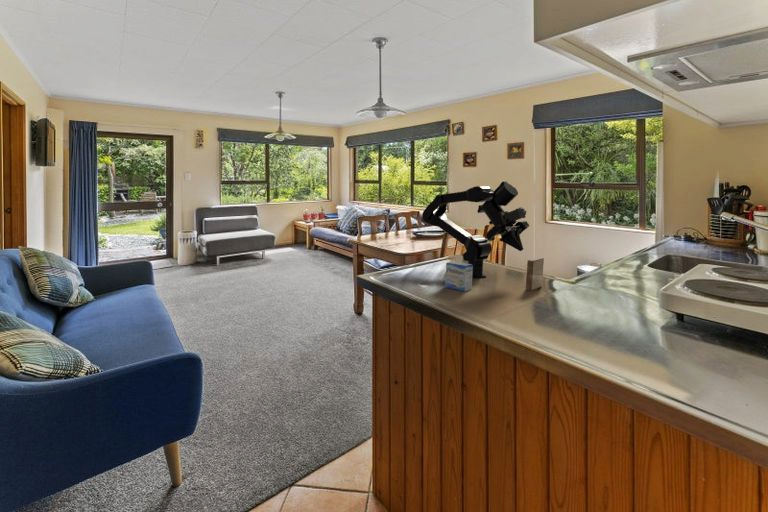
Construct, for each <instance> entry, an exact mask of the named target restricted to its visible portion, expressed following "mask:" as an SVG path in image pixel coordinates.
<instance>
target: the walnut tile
mask: <svg viewBox="0 0 768 512" xmlns="http://www.w3.org/2000/svg"><path fill="white" fill-rule="evenodd" d="M544 260H545V258H544V257H539V256H538V257H534V258H530V259H527V263H526V279H525V280H526V282H525V290H526V291H530V290H532V291H534V289H535V290H537V288H538V289H541V288H542V286H543V274H544ZM540 287H541V288H540Z"/></svg>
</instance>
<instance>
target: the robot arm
mask: <svg viewBox="0 0 768 512" xmlns="http://www.w3.org/2000/svg"><path fill="white" fill-rule="evenodd" d="M518 195H519V192H518V190H517V188H516V187H514V186H513V185H512V184H510V183H508V182H507V180H506V181H505V180H504V181H502V182H500V184H499V185H498V186H497V187H496V188H495V190H494V189H492V188H491V187H490V186H489V185H480V186H479V185H478V186H477V185H475V186H472V187H470V188H467V189H466V190H463V191H458V192H456V191H455V192H451V193H450V192H449V193H439V194H436V196H435V197H434V199H433V200H432V201H431V202H430V203H429V204H427V206H426V207H425V209H423V212H422V214H421V216H422V221H423V222H424V223H425V224H427V225H430V226H434V227H436V228H437V227H438V228H439V229H441V230H442V231H444V232H445V233H446V234H447V235H449V236H451V237H452V238H454V239H455V240H456V241H457V242H459V243H461V244H462V245H463V247H464V248H465V252H464V253H463V254H462V258H463V261H465V262H467V264H472V265H473V270H472V279H473V278H474V279H475V278H486V277H487V275H485V274H484V260H487V259H488V258H489V256H490V254H491V253H492V251H493V250H492V248H493V247H492V243H491V242H493V241H495V237H496V236H498V235H500V237H501V238H500V239H499V242H503V243H504V244H506V245H508V246H510V247H512V248H514V249H516V250H517V251H520V252H522V251H523V250H524V246H523V243H522V239H521V236H520V235H521V234H523V232H525V231H526V230H527V229H528V228H529V227H530V224H529V222H528V221H526V220H521V219H525V218H526V214H527V210H525V208H524V207H522V206H521V207H518V208H515V209H513V210H511V211H505V210H504V209H503V208H502V206H504V207H506V206H508V205H509V204H510V203H511V202H512V201H513V200H514V199H515V198H516V197H518ZM461 202H471V203H483V204H481V205H478V209H477V213H478V214H482V213H484V214H485V215H486V217H487V218H488V220H489V222H488V224H489V225H491V226H492V225H493V226H492V227H491V228H490V229H489V230H488V231H487V232H486V233H485V236H484V235H482V234H476V235H473V234H471V233H469V232H468V231H466V230H464V229H463V228H462V227H460V226H459V225H457V224H456V223H454V222H453V221H451V219H449V218H447V214H446V211H447V208H448V207H447V206H448V204H451V203H461ZM518 220H521V221H518Z"/></svg>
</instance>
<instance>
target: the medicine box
mask: <svg viewBox="0 0 768 512" xmlns="http://www.w3.org/2000/svg"><path fill="white" fill-rule="evenodd" d="M472 270H473V265H472V264H468V262H467V263H466V262H461V261H460V262H459V261H447V262H446V263H445V285H444V286H445V288H446V289H451V290H457V291H461V292H468V291H470V290H472V288H473V278H472Z"/></svg>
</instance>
